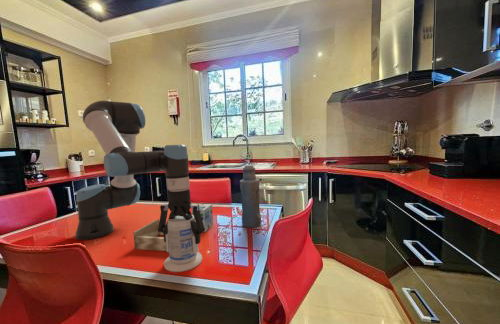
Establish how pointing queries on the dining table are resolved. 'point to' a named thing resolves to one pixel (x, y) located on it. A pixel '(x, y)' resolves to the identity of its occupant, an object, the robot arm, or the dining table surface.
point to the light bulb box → (206, 215)
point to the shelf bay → (149, 237)
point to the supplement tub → (180, 240)
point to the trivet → (182, 267)
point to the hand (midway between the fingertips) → (182, 251)
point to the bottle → (250, 198)
